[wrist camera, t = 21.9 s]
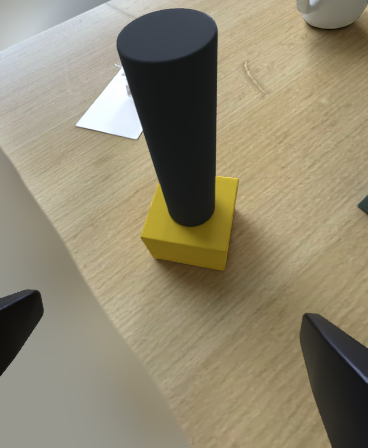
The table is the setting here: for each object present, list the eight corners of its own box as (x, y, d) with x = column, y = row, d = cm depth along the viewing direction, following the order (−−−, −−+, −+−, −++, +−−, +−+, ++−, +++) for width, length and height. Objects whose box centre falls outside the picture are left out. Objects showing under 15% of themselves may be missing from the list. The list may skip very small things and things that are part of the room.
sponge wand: (224, 271, 16) (250, 96, 5) (152, 258, 17) (43, 86, 6) (234, 207, 18) (268, -13, 7) (170, 198, 19) (113, -8, 8)
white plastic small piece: (152, 87, 26) (145, 56, 23) (142, 103, 25) (133, 72, 22) (128, 83, 27) (118, 52, 24) (116, 98, 26) (105, 68, 23)
